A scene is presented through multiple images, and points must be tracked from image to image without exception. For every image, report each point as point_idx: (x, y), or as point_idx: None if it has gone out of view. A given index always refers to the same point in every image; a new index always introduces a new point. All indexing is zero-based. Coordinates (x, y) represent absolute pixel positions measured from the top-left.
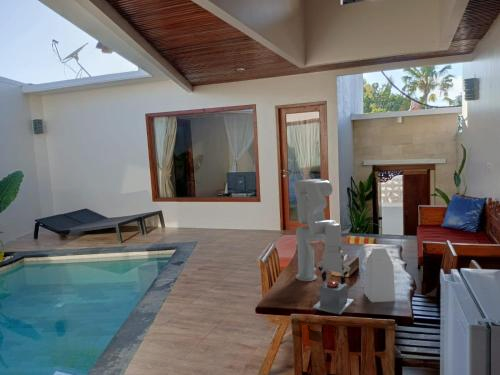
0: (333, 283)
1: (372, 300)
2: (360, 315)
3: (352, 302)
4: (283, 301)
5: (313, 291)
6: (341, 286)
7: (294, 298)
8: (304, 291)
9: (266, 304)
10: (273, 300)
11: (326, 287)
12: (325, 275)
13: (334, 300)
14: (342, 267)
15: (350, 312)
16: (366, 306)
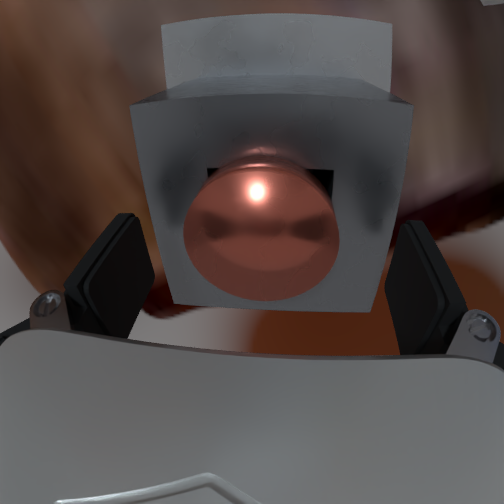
0: (282, 272)
1: (493, 3)
2: (460, 218)
3: (388, 52)
4: (50, 242)
5: (52, 31)
6: (370, 210)
7: (49, 187)
8: (22, 72)
9: (45, 290)
10: (27, 252)
11: (232, 297)
12: (117, 279)
13: None
14: (482, 403)
15: (410, 205)
16: (477, 82)
